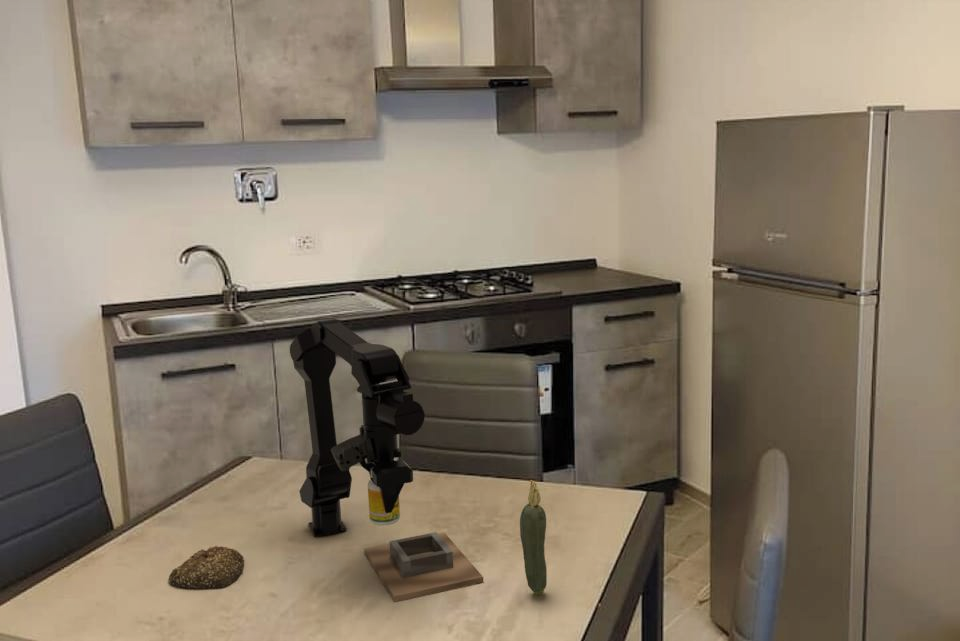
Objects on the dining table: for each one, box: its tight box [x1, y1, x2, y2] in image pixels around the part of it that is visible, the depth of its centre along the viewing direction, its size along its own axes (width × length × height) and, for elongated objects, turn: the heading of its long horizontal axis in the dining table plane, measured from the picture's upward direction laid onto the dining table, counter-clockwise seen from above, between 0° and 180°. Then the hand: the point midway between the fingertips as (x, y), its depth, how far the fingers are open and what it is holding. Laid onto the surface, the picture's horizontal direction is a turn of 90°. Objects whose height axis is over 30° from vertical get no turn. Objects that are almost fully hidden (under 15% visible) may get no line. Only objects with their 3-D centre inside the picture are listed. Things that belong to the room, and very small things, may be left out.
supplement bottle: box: [367, 467, 401, 526], centre depth 153 cm, size 5×5×10 cm
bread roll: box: [167, 545, 245, 589], centre depth 158 cm, size 13×12×5 cm
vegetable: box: [519, 479, 548, 596], centre depth 144 cm, size 4×4×20 cm
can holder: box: [363, 531, 484, 603], centre depth 157 cm, size 20×16×4 cm
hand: (384, 506), depth 154 cm, fingers closed on supplement bottle, 5 cm apart
